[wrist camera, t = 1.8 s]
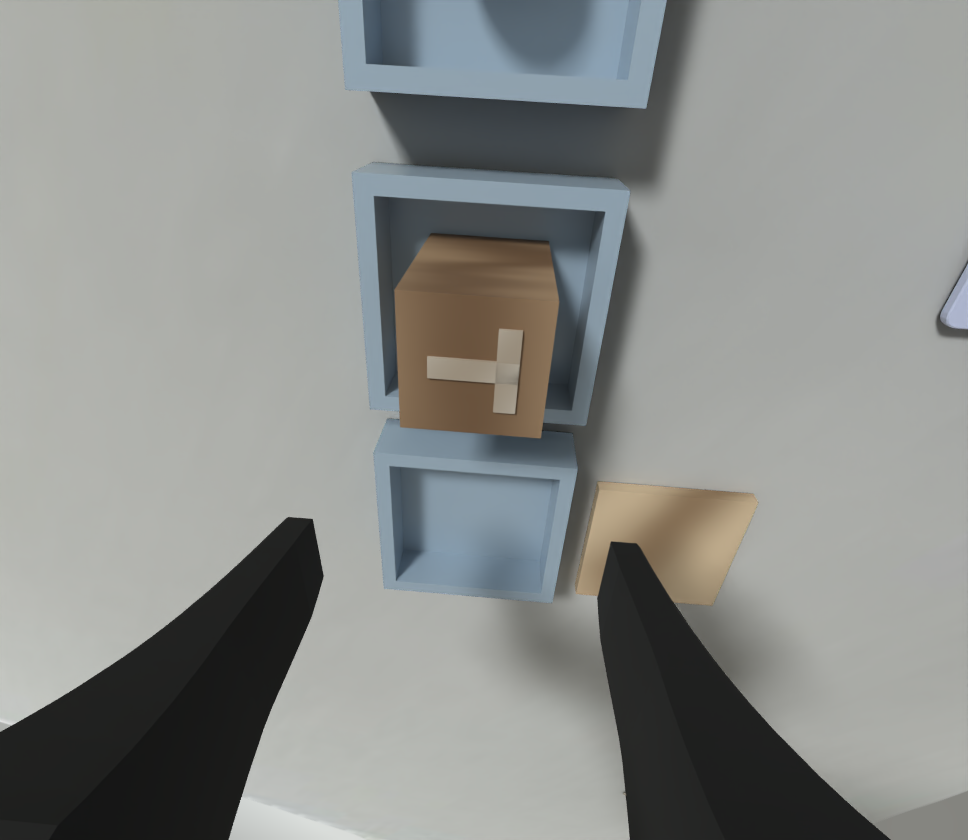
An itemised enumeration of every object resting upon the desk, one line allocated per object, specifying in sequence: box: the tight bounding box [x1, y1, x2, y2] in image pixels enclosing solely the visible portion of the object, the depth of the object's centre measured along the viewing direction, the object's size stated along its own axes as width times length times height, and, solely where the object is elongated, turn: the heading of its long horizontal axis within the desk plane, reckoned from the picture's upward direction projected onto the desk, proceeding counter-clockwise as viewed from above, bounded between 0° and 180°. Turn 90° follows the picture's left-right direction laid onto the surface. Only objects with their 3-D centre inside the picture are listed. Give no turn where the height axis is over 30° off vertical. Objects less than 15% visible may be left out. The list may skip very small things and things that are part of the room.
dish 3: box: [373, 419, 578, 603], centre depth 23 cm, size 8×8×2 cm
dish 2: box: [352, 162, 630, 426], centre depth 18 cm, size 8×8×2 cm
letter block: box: [394, 233, 559, 438], centre depth 16 cm, size 4×4×6 cm
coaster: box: [575, 481, 758, 606], centre depth 25 cm, size 7×7×1 cm
